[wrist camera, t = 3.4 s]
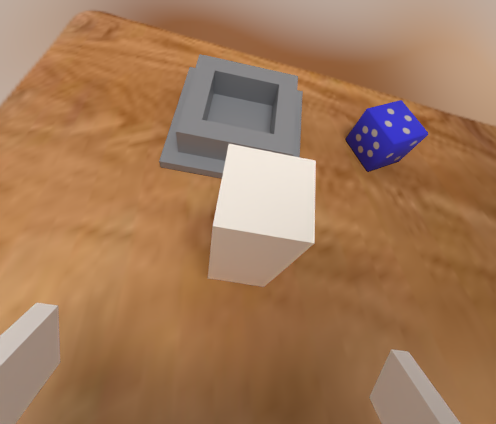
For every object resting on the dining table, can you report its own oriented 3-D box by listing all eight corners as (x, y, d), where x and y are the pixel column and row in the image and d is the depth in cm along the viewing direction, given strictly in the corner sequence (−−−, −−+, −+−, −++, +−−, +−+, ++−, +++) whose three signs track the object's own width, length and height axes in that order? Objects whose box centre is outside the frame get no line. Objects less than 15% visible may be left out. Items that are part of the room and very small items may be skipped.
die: (375, 130, 35) (401, 99, 30) (398, 161, 33) (429, 133, 29) (344, 139, 33) (366, 107, 29) (366, 172, 31) (394, 144, 27)
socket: (299, 97, 35) (311, 70, 31) (295, 192, 29) (308, 170, 25) (190, 74, 34) (188, 42, 30) (160, 167, 28) (154, 141, 24)
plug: (268, 234, 26) (315, 160, 16) (264, 286, 24) (314, 243, 13) (217, 225, 26) (228, 143, 15) (207, 278, 24) (212, 225, 13)
